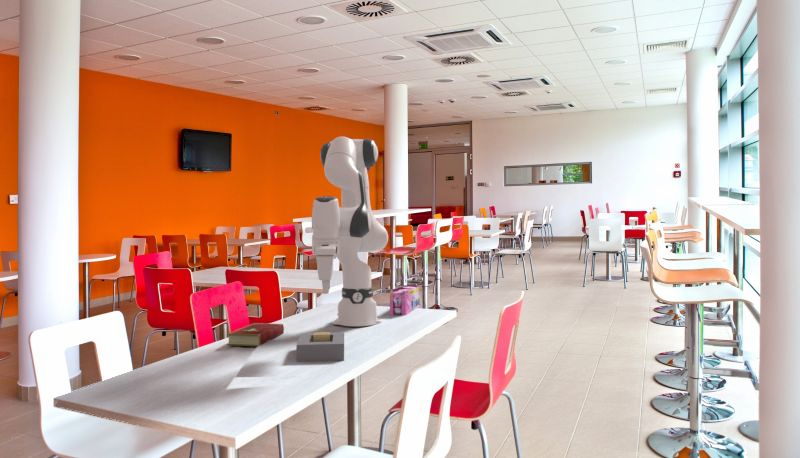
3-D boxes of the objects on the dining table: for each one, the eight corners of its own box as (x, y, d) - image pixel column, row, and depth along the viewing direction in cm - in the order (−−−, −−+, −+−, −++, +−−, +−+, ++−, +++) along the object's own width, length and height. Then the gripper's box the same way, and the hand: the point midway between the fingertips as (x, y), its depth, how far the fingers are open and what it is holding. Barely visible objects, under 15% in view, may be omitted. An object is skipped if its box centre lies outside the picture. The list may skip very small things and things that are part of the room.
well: (301, 348, 191) (301, 333, 191) (344, 347, 192) (344, 332, 192) (296, 361, 173) (296, 344, 173) (344, 360, 174) (343, 343, 174)
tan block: (314, 351, 185) (314, 332, 184) (330, 350, 185) (330, 332, 185) (313, 354, 181) (313, 334, 180) (329, 353, 181) (329, 334, 181)
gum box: (405, 322, 240) (404, 291, 240) (388, 321, 243) (388, 290, 243) (420, 313, 262) (420, 285, 261) (404, 312, 264) (404, 284, 264)
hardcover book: (284, 334, 217) (283, 323, 217) (260, 346, 197) (260, 334, 197) (254, 333, 220) (253, 322, 220) (227, 345, 199) (227, 333, 199)
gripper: (318, 245, 194) (318, 287, 194) (313, 250, 173) (314, 296, 174) (337, 245, 194) (337, 287, 195) (335, 249, 174) (335, 296, 174)
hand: (326, 291), depth 184 cm, fingers open, 6 cm apart
